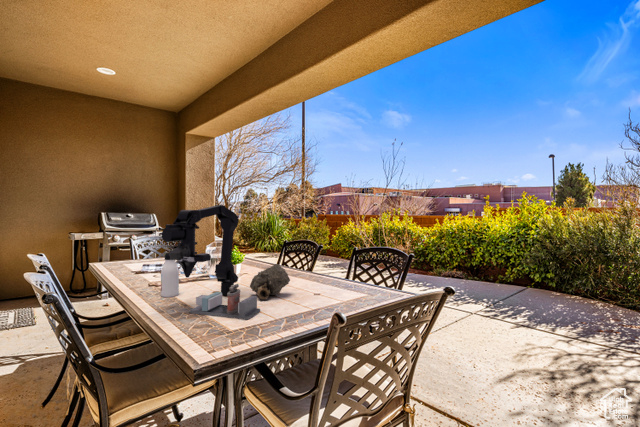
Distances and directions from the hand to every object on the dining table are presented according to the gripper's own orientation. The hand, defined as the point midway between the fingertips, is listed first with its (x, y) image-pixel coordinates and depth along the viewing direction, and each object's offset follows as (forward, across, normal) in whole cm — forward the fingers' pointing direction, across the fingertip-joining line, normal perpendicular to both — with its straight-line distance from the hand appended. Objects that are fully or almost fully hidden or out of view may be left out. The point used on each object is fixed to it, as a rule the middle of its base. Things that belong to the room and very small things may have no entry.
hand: (187, 277), depth 129 cm
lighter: (+12, +22, 0) cm, 25 cm away
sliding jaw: (+11, +10, 0) cm, 15 cm away
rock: (+13, +24, +26) cm, 38 cm away
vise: (+13, +18, 0) cm, 22 cm away
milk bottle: (+13, -21, +14) cm, 28 cm away
